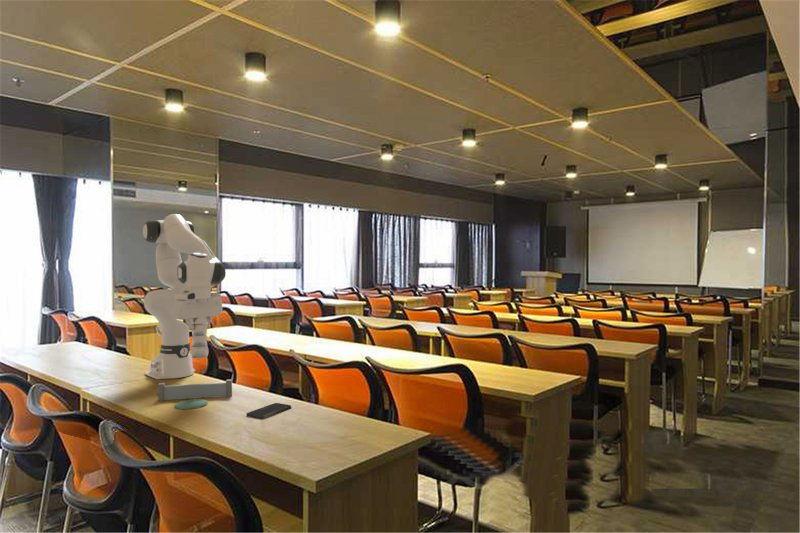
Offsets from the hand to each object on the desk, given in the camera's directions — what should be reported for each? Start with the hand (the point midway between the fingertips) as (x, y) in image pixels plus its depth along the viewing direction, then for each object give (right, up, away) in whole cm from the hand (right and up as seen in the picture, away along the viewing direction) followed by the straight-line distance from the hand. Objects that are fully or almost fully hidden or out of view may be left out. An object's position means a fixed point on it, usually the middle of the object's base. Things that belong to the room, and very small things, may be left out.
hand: (199, 328), depth 203 cm
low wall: (+2, -25, -9) cm, 27 cm away
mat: (+5, -25, -19) cm, 32 cm away
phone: (+35, -26, -27) cm, 51 cm away
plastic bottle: (0, -12, 0) cm, 12 cm away
